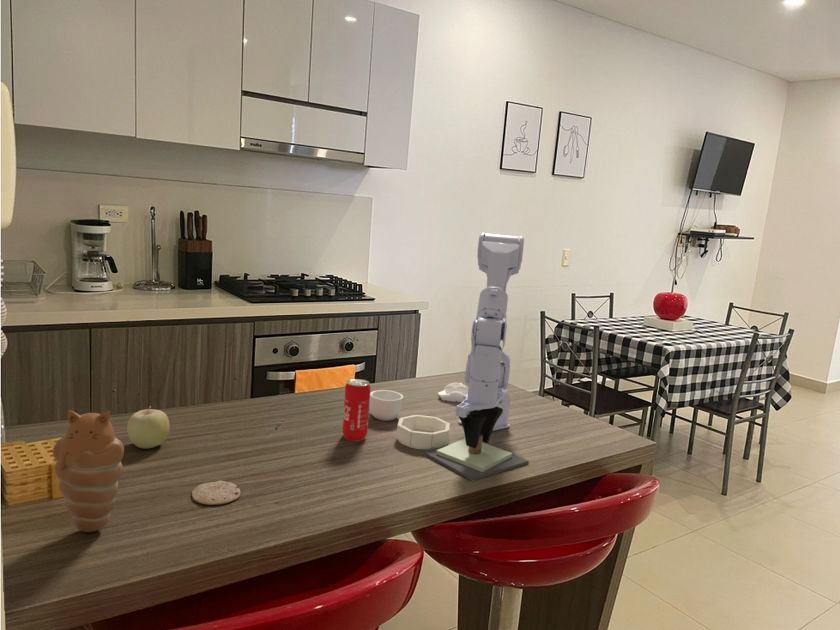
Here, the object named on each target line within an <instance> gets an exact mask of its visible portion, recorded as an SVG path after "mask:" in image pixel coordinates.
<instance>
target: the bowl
mask: <svg viewBox="0 0 840 630" xmlns="http://www.w3.org/2000/svg"><path fill="white" fill-rule="evenodd" d="M450 425H451V424H450V422H447V421H445V420H444V419H442V418H439V417H437V416H432V415H431V416H430V415H421V414H413V415H409V416H404V417H403V416H402V417H400V418H399V419H398V423H397V427H396V440H397V441H398V442H399V443H400V444H401V445H404V446H406V447H407V448H411V449H414V450H415V449H416V450H421V451H427V450H431V449H435V448H439V447H443V446H447V445H449V436H450Z"/></svg>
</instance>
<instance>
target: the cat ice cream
mask: <svg viewBox="0 0 840 630" xmlns="http://www.w3.org/2000/svg"><path fill="white" fill-rule="evenodd" d="M110 416H111V412H110V410H107V411H104V412H102V413H98V412H87V413H83V414H79V413H77V412H75V411H74V410H71V409H68V411H67V420H68V427H67V429H66V432H65V435H64V436H62V437H61V438H59V439H58V440H57V442H55V444H54V445H53V448H52V456H53V459H54V460H55V462H56V463H55V466H54V473H55V476H56V477H57V478H58V479H59V490H60V493H61V495H62V496H63V500H64V506H65V508H66V511H67V512H68V513H69V514H70V515H71V521H72V524H73V526H74V527H75V528H76V529H78V530H79V531H81V532H84V533H94V532H98V531H100V530H101V529H103V528H105V527H106V525H107V524H108V523H109V521H110V518H111V512H112V511H113V509H114V507H115V502H116V501H115V499H116V497H117V495H118V491H119V480H120V478H121V477H122V476H123V472H124V467H123V463H122V459H123V457H124V453H125V446H124V444H123V442H122V441H121V440H120V439H119V438H117V437H116V435H115V431H114V427H113V424H112V422H111V421H110Z"/></svg>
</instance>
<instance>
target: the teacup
mask: <svg viewBox="0 0 840 630" xmlns="http://www.w3.org/2000/svg"><path fill="white" fill-rule="evenodd" d="M403 402H404V395H403V394H401V393H400V392H398V391H394V390H389V389H388V390H387V389H386V390H385V389H378V390H374V391H370V403H369V412H370V413H371V415H372V416H373V417H374V418H375V419H377V420H379V421H384V422H387V421H388V422H389V421H394V420H395V419H396V418H398V417H399V416H400V415H401V412H402V408H403Z"/></svg>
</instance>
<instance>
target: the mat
mask: <svg viewBox="0 0 840 630" xmlns="http://www.w3.org/2000/svg"><path fill="white" fill-rule="evenodd" d="M483 443H485V442H483ZM485 444H488V445H491V446H494V447H497V448H499V449H502V450H505V451H508V452H510V451H509V450H507V449H504V448H502V447H500V446H498V445H496V444H494V443H492V442H490V441H488V443H485ZM448 445H449V444H447V445H446V446H448ZM443 447H445V446H443ZM443 447H439V448H435V449H431V450H422V455H424V456H426V458H429V459H431V460H433V461H434V462H435V463H438V464H440V465H441V466H443V467H445V468H447V469H449V470H450V471H452V472H454V473H456V474H458V475H460V476H462V477H464V478H465V479H467V480H469V481H471V482H473V480H474V481H477V480H480V479H483V478H487V477H490V476H492V475H495V474H499V473H503V472H506V471H509V470H513V469H515V468H518V467H522V466H525V465H528V464H529V462H530V460H528V459H526V458H524V457H523V456H519V455H518V454H516V453H513V452H511V453H512V457H511V458H509V459H507V460H505V461H503V462H501V463H499V464H497V465H495V466H493V467H491V468H489V469H487V470H485V471H483V472H481V471H478V470H476V469H473V468H470V467H468V466H465V465H463V464H460V463H458V462H455V461H453V460H450V459H447V458H445V457H442V456H440V455H437V454H436V450H438V449H441V448H443Z"/></svg>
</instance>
